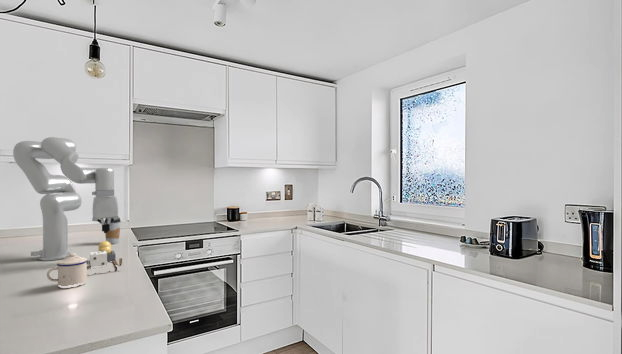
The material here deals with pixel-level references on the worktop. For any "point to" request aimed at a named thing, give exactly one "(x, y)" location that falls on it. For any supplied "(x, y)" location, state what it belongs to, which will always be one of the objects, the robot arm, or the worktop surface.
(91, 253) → the die
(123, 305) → the worktop surface
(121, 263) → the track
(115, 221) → the coffee cup
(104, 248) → the dome button
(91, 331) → the worktop surface
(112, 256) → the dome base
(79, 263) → the teacup with lid
